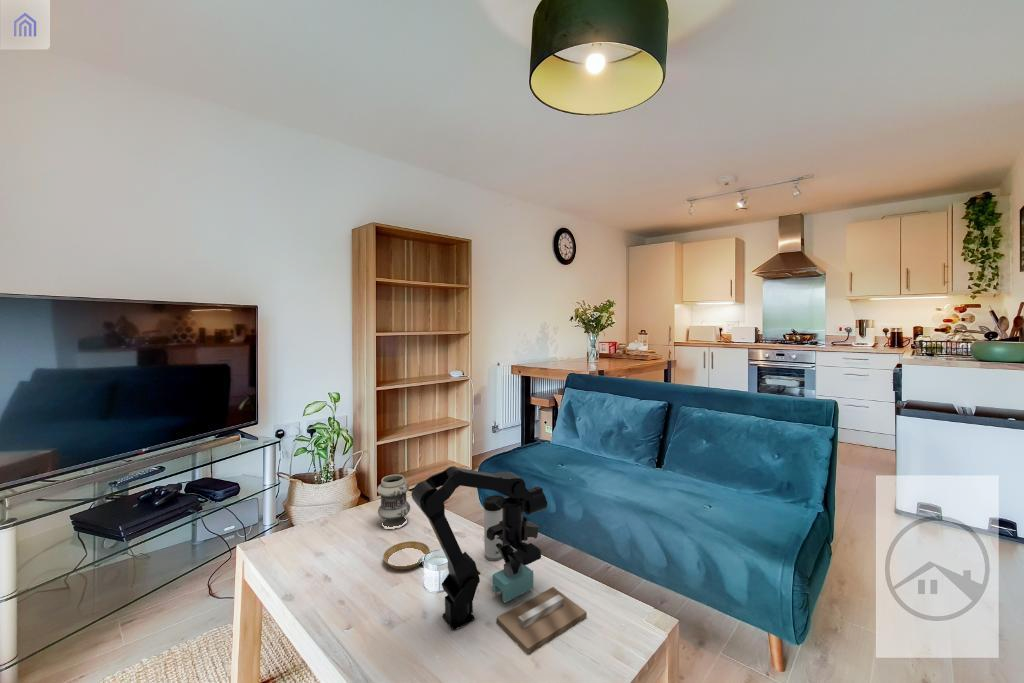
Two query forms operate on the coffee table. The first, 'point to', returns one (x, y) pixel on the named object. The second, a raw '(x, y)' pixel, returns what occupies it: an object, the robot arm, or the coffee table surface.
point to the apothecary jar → (393, 500)
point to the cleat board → (540, 619)
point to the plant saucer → (403, 545)
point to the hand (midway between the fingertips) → (513, 571)
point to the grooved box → (512, 581)
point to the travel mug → (490, 519)
